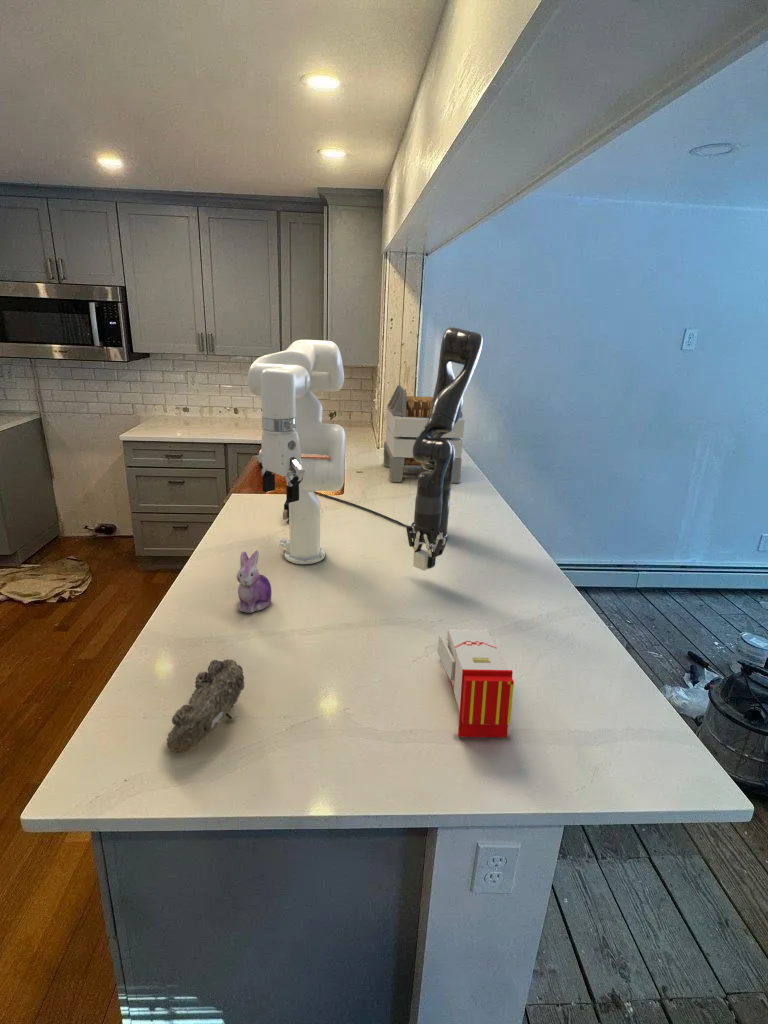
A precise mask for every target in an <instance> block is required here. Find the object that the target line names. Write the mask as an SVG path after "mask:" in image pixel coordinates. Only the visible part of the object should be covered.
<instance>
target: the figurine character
mask: <svg viewBox="0 0 768 1024" xmlns="http://www.w3.org/2000/svg"><path fill="white" fill-rule="evenodd" d="M282 520H286V524H289V503H288V502H287V501H286V500H285V502H284V504H283V511H282Z"/></svg>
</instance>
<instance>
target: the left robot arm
mask: <svg viewBox="0 0 768 1024" xmlns="http://www.w3.org/2000/svg"><path fill="white" fill-rule="evenodd" d="M344 382H345V371H344V365H343V359H342V353H341V350H340V348H339V346H338V345H337V343H335V342H334V341H331V340H321V339H297V340H294V341H293V342H292V343H291V344H289V346H288V347H287V349H286V350H281V351H278V352H274V353H269V354H266V355H262V356H260V357H257V358H256V359H255V360H254V361H253V363H252V364H251V365H250V367H249V369H248V372H247V386H248V389H249V391H250V392H251V393H252V394H253V395H255V396H258V397H261V424H262V425H261V426H262V427H261V428H262V433H261V446H260V448H261V449H260V453H258V454H257V455H256V457H257V461H258V466H259V468H260V475H261V476H262V477H261V479H262V480H261V481H262V484H261V485H262V492H263V493H269V492H273V491H275V490H276V475H278V476H281V477H284V479H285V481H286V486H285V492H286V493H285V495H286V496H285V497H286V499H285V502H286V501H287V502H288V503H289V523H288V527H289V530H288V531H289V532H288V533H289V539H287V538H282V537H281V538H280V540H279V547H280V548H285V549H286V550H285V552H284V558H285V560H286V561H288V562H290V563H292V564H296V565H312V564H316V563H320V562H321V561H322V560H324V559H325V557H326V551H325V550H324V549H323V548H321V501H320V499H319V498H318V495H317V494H315V493H314V492H313V491H315V492H339V491H340V490H342V489H343V487H344V483H345V473H346V472H345V471H346V468H345V467H346V447H347V436H346V432H345V429H344V427H343V426H341V425H340V424H337V423H327V422H326V423H323V409H324V408H323V405H322V404H321V402H320V400H319V399H318V398H317V396H316V395H315V394H314V393H313V392H328V393H329V392H331V393H332V392H333V393H334V392H339V391H341V389H342V388H343V386H344V384H345V383H344ZM312 391H313V392H312ZM301 454H302V455H313V456H314V455H315V456H328V457H329V459H325V458H324V459H322V458H309V457H308V458H307V457H302V455H301Z"/></svg>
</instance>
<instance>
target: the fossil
mask: <svg viewBox="0 0 768 1024" xmlns="http://www.w3.org/2000/svg"><path fill="white" fill-rule="evenodd" d="M243 670H244V669H243V667H242V665H240V664H237V662H236V661H235V660H234V659H232V658H231V659H227V658H226V659H224V660H223V661H222V660H217V659H212V660H211V661H210V663H209V665H208V666H207V671H201V672H199V673H198V674H197V675H196V676H195V680H194V684H195V685H194V687H195V689H194V690H193V693H192V694H191V697H190V698H189V700H188V704H184V705H182V706H181V707H180V709H177V710H176V711H175V713H174V715H173V716H172V718H171V723H172V724H173V727H172V730H171V731H170V732H168V734H167V738H166V741H167V742H166V745H167V749H168V750H169V751H173V752H174V753H176V754H178V753H182V752H188V751H189V752H192V751H193V750H195V748H196V747H197V746H199V744H200V743H201V742H203V741H204V740H205V739H206V738H207V737H208V736H209V735H210V734H211V733H212V732H214V730H215V729H217V727H218V726H219V724H220V722H221V721H222V720H223V719H224V718H225V716H226V717H227V719H229V720H233V717H232V715H230V714H229V710H230V709H231V708H234V706H235V704H236V703H237V702H238V699H239V697H240V695H241V693H242V691H243V690H245V689H244V688H245V675H244V671H243Z"/></svg>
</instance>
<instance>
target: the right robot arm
mask: <svg viewBox="0 0 768 1024" xmlns="http://www.w3.org/2000/svg"><path fill="white" fill-rule="evenodd" d="M483 339H484V338H483V335H482V334H481V333H479V332H475V331H472V330H467V329H465V328H458V327H454V326H449V327H447V329H446V330H445V331H444V333H443V335H442V340H441V344H440V350H439V359H438V368H437V369H438V370H437V375H436V376H437V377H436V382H435V387H434V390H433V391H434V392H433V396H432V397H433V400H432V406H431V412H430V416H429V419H428V422H427V423H426V425H425V427H424V428H423V430H422V432H421V433H420V435H419V436H418V438H417V439H416V441H415V443H414V446H413V457H414V459H415V460H416V461H417V462H420V463H421V464H422V466H421V467H422V468H423V470H424V471H421V472H420V473H419V474H418V475H417V480H416V481H417V483H416V495H415V501H414V515H413V522H412V523H411V524H410V525H407V524H404V523H402V522H400V521H399V520H397V519H394V518H391V517H389V516H388V515H384V514H382V513H380V512H377V511H375V510H372V509H369V508H367V507H364V506H361V505H359V504H356V503H353V502H350V501H347V500H345V499H341V498H337V497H334V496H331V495H328V494H326V493H325V494H324V493H321V492H319V491H313V492H314V493H315V495H317V496H322V497H324V498H325V497H326V498H328V499H332V500H335V501H338V502H342V503H345V504H347V505H351V506H354V507H357V508H358V509H362V510H364V511H367V512H370V513H372V514H374V515H377V516H380V517H382V518H384V519H386V520H389V521H391V522H394V523H395V524H398V525H400V526H403V527H404V528H405V529H406V536H407V540H408V541H407V542H408V546H409V548H412V549H413V554H414V553H416V552H418V551H421V550H422V549H423V546H424V544H425V549H426V550H428V555H429V556H428V565H427V568H429V569H428V570H430V569H432V568H435V567H436V562H437V561H436V559H437V557H440V556H442V555H443V553H444V550H445V548H446V545H447V542H448V525H449V517H450V516H449V514H450V504H451V494H452V493H451V491H452V484H453V483H452V474H453V467H454V460H455V449H454V446H453V445H452V444H450V443H449V442H448V441H446V440H442V439H440V438H441V437H442V436H443V435H444V434H448V433H450V432H451V431H452V429H453V426H454V425H455V424H456V422H457V421H458V419H459V417H460V413H461V412H462V409H463V403H464V395H465V393H466V391H467V388H468V386H469V384H470V381H471V379H472V376H473V374H474V372H475V369H476V367H477V364H478V362H479V359H480V356H481V353H482V347H483V342H484V341H483ZM452 363H453V364H454V363H455V364H458V365H462V366H463V367H462V368H461V371H460V372H459V374H457V376H456V377H455V375H454V372H453V366H452Z"/></svg>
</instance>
